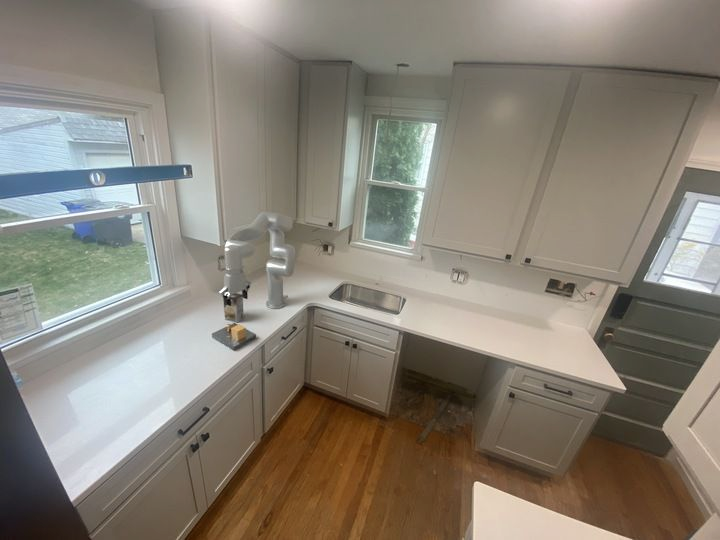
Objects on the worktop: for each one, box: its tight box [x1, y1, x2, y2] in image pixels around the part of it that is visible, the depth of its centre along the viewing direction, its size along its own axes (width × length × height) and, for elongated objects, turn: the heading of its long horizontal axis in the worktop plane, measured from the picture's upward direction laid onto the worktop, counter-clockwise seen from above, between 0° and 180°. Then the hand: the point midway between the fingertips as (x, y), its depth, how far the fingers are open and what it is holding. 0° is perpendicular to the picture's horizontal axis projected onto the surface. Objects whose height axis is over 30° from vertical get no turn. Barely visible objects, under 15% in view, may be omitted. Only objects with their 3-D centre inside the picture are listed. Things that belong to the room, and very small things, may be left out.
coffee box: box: [222, 292, 245, 324], centre depth 171 cm, size 9×6×16 cm
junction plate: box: [211, 322, 257, 351], centre depth 156 cm, size 14×18×6 cm
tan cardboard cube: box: [231, 324, 247, 340], centre depth 154 cm, size 5×5×6 cm
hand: (237, 301), depth 148 cm, fingers open, 9 cm apart
